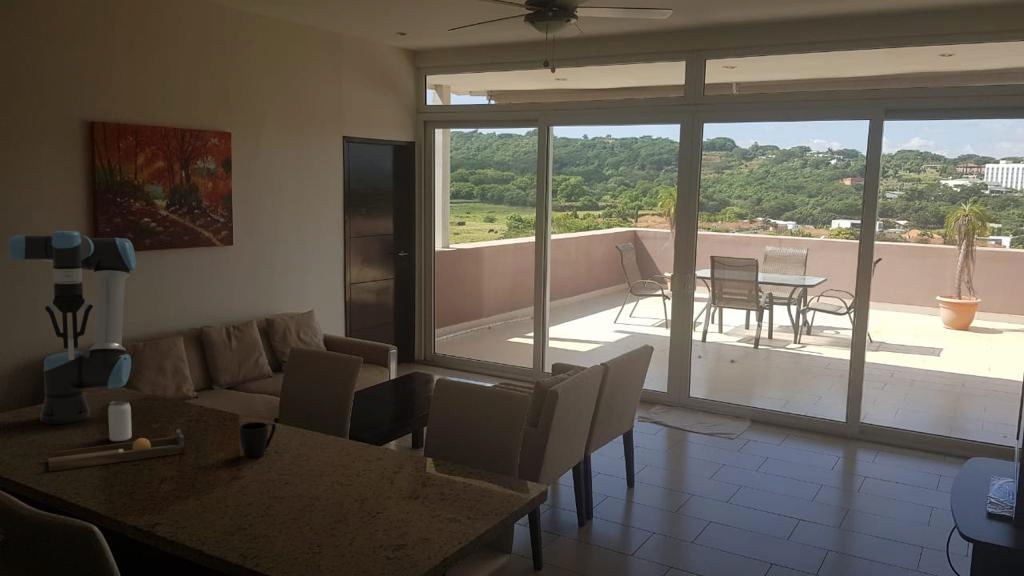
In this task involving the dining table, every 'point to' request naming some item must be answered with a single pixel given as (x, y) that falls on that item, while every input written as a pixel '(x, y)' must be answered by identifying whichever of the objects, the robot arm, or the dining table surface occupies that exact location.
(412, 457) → the dining table surface
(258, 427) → the mug
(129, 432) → the can
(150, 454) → the lane
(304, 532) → the dining table surface
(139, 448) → the ball
